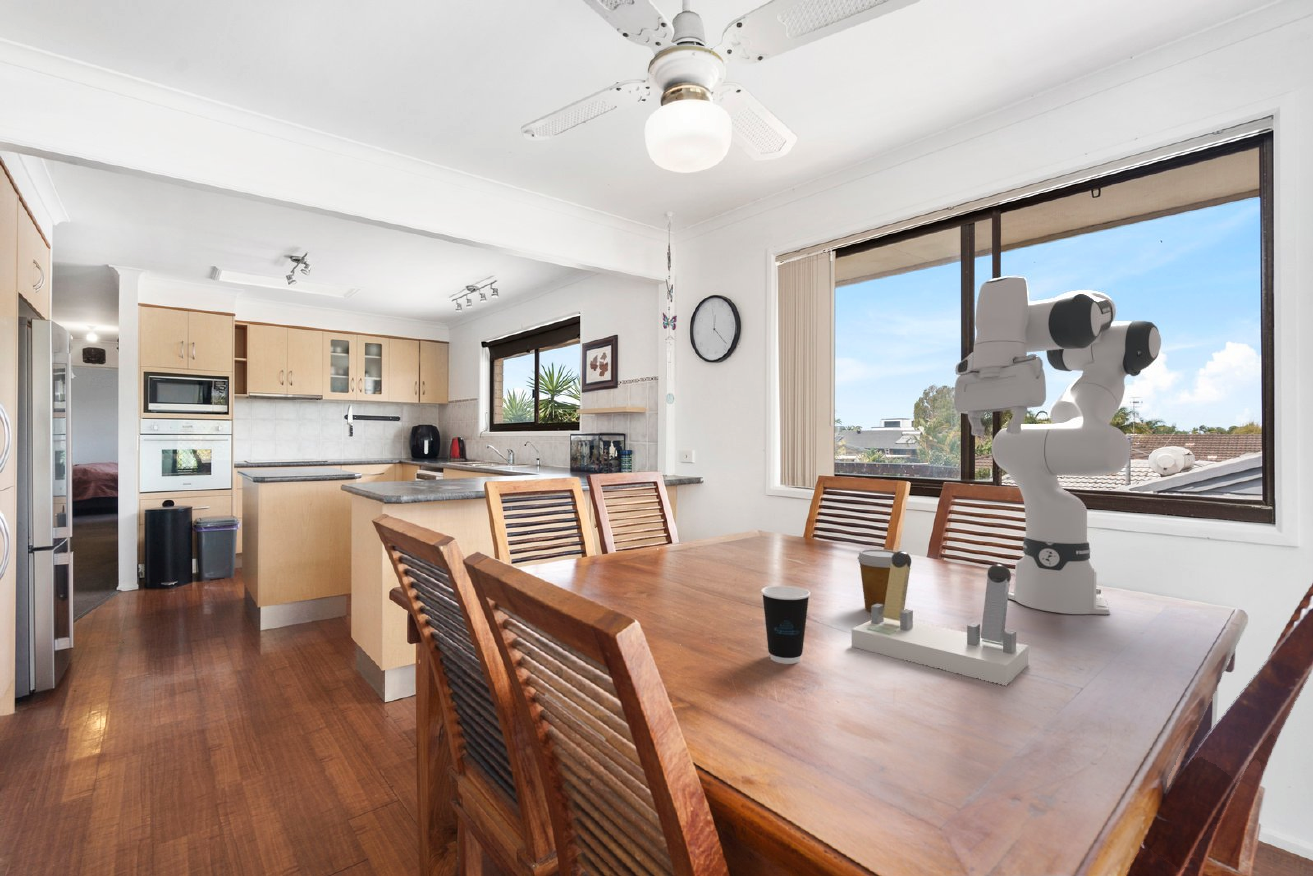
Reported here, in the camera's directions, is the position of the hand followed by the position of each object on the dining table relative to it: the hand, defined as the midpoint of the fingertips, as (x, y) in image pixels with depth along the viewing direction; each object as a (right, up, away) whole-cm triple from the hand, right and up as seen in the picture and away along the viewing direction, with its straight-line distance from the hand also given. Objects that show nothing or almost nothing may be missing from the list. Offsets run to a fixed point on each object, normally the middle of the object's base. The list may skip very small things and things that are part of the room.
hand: (994, 434), depth 116 cm
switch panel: (-17, -37, -13) cm, 43 cm away
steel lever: (-11, -34, -18) cm, 40 cm away
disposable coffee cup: (-17, -37, +13) cm, 42 cm away
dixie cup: (-42, -37, -15) cm, 58 cm away
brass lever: (-22, -34, -7) cm, 41 cm away
